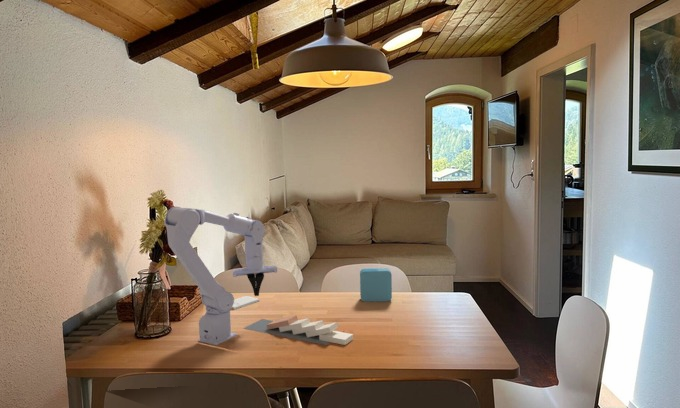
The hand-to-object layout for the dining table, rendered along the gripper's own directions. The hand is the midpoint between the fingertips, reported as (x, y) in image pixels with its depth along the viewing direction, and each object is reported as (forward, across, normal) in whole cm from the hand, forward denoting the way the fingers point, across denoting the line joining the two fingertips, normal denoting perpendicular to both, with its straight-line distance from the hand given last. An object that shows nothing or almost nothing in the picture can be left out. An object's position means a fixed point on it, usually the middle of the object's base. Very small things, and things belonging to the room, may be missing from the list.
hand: (256, 295), depth 158 cm
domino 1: (+9, +4, -5) cm, 11 cm away
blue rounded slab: (+12, +47, +13) cm, 50 cm away
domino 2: (+9, +8, -8) cm, 14 cm away
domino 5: (+9, +18, -19) cm, 28 cm away
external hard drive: (+11, -4, +26) cm, 29 cm away
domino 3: (+9, +11, -12) cm, 19 cm away
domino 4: (+9, +15, -16) cm, 23 cm away
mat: (+10, +10, -10) cm, 18 cm away
